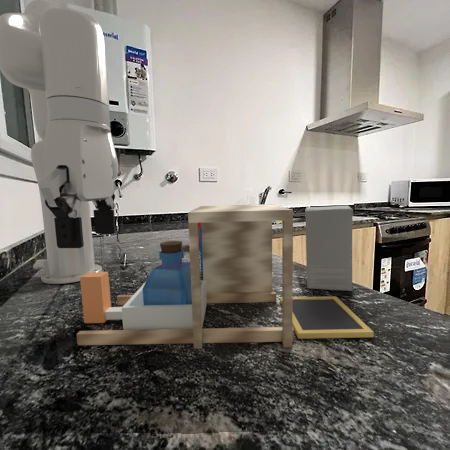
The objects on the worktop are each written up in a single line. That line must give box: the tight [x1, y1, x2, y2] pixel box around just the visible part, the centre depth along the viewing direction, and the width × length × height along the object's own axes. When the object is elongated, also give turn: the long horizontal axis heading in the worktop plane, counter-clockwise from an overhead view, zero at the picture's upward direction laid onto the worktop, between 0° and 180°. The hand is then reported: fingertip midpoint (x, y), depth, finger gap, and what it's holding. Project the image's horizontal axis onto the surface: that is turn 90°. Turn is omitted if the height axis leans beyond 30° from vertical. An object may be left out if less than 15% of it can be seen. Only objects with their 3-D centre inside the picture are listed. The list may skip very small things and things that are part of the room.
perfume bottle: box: [143, 240, 192, 305], centre depth 38 cm, size 6×6×12 cm
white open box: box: [79, 271, 208, 330], centre depth 39 cm, size 18×10×7 cm, turn 89°
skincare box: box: [304, 205, 354, 292], centre depth 51 cm, size 8×7×16 cm
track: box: [76, 291, 295, 346], centre depth 39 cm, size 28×13×2 cm, turn 89°
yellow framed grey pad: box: [279, 295, 375, 340], centre depth 39 cm, size 10×12×1 cm
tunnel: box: [187, 203, 294, 350], centre depth 38 cm, size 12×15×17 cm
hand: (90, 239), depth 39 cm, fingers open, 9 cm apart
